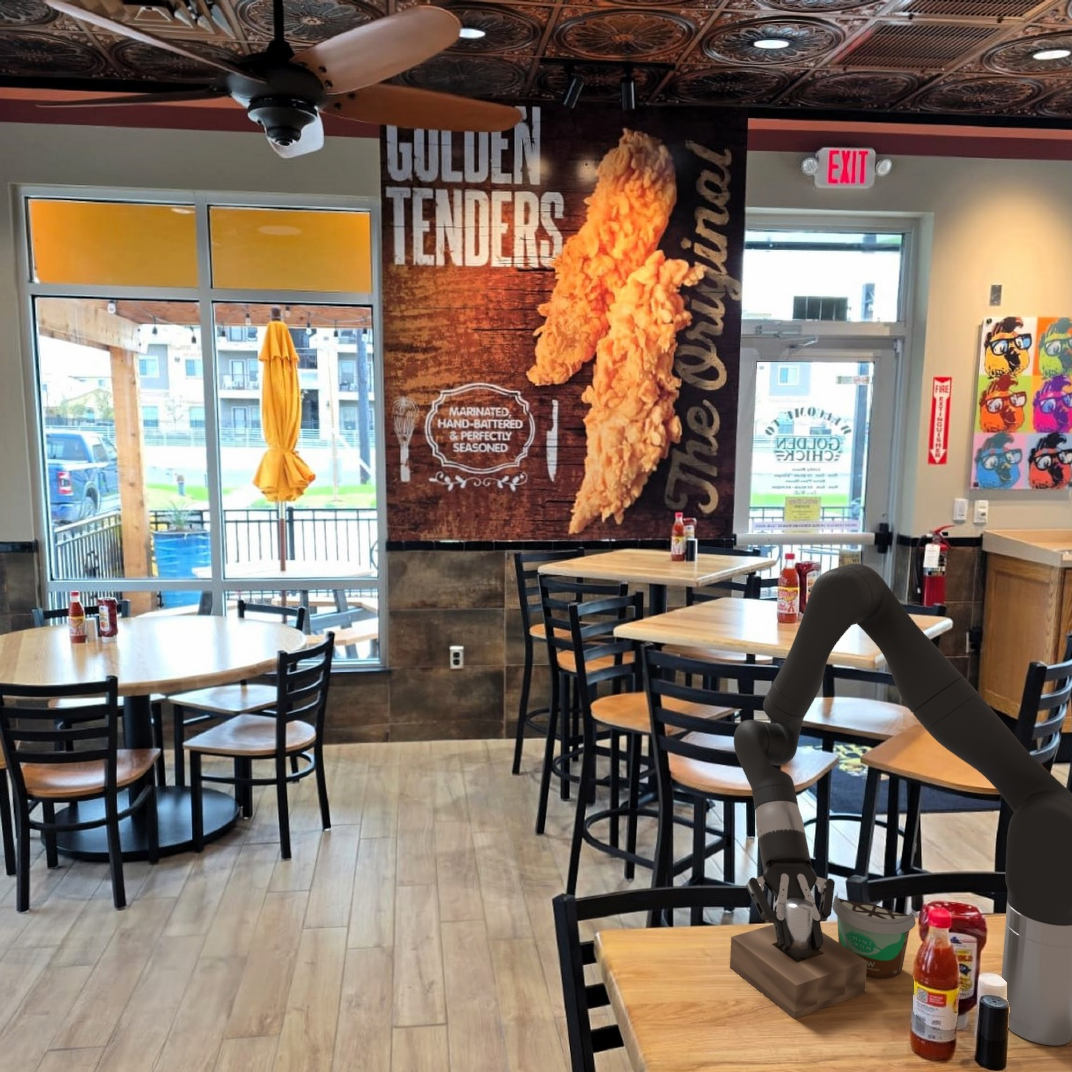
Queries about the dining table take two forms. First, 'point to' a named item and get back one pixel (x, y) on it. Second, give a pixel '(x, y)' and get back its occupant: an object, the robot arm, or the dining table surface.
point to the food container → (874, 935)
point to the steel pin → (799, 928)
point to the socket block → (798, 972)
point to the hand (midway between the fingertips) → (801, 948)
